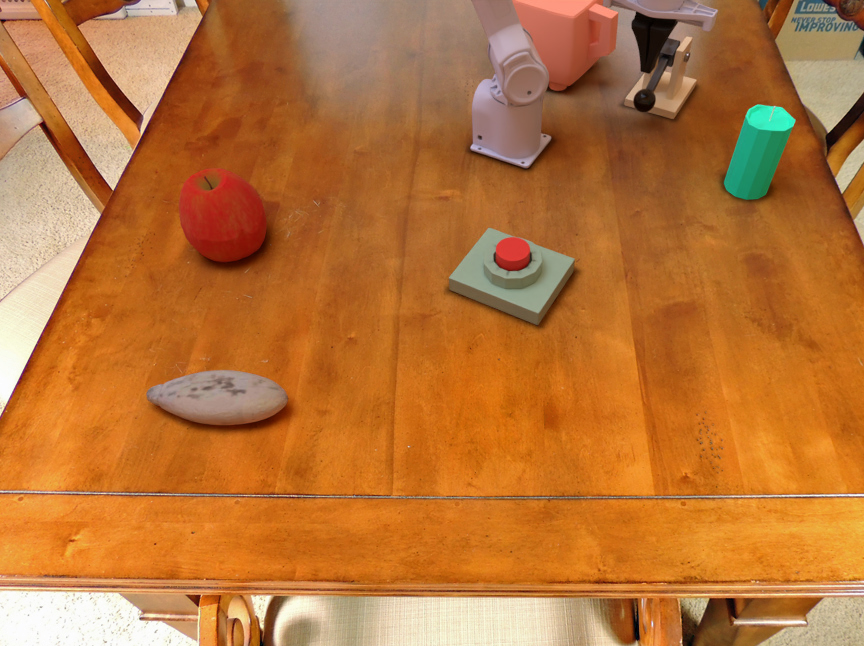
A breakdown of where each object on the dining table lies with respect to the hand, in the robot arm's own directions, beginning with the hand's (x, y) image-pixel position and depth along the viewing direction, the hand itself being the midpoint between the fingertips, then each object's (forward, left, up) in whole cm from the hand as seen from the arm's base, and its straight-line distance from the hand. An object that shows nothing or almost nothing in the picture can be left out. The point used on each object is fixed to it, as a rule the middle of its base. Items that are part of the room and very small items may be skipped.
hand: (647, 69), depth 94 cm
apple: (-37, -47, -10) cm, 61 cm away
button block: (-2, -36, -10) cm, 37 cm away
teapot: (-19, +9, -10) cm, 23 cm away
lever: (0, +6, -6) cm, 8 cm away
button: (-2, -36, -6) cm, 36 cm away
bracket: (0, +10, -10) cm, 14 cm away
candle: (+18, -5, -10) cm, 21 cm away
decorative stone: (-21, -67, -10) cm, 71 cm away
